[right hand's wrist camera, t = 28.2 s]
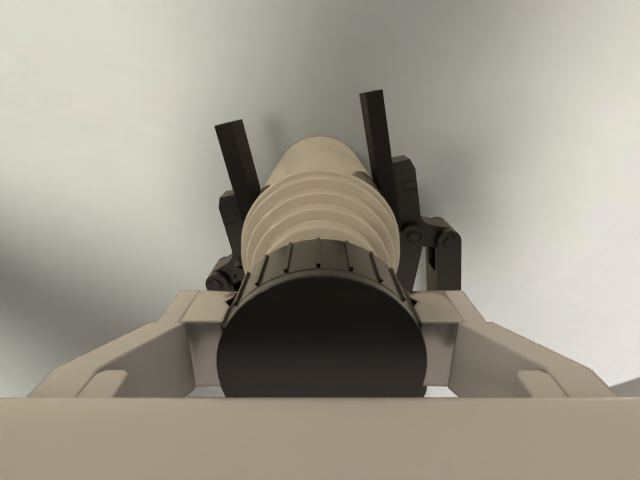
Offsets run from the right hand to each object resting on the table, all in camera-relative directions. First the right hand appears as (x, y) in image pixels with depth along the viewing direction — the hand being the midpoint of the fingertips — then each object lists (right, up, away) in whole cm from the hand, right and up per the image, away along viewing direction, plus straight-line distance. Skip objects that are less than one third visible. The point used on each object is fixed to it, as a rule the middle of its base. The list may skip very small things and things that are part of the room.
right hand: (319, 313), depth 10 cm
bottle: (0, +6, +16) cm, 17 cm away
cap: (0, -1, -2) cm, 2 cm away
